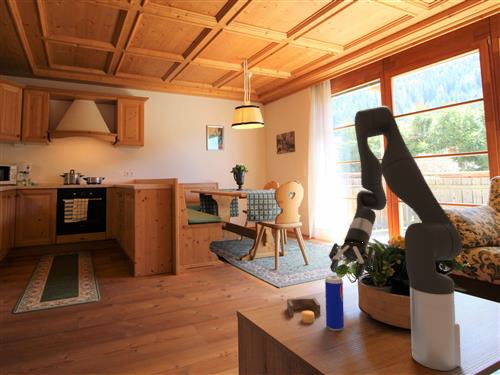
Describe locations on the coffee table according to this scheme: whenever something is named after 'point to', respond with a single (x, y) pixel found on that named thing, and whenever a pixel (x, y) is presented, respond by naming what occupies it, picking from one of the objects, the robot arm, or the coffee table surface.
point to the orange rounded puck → (307, 316)
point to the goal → (303, 305)
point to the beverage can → (334, 303)
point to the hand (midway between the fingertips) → (344, 273)
